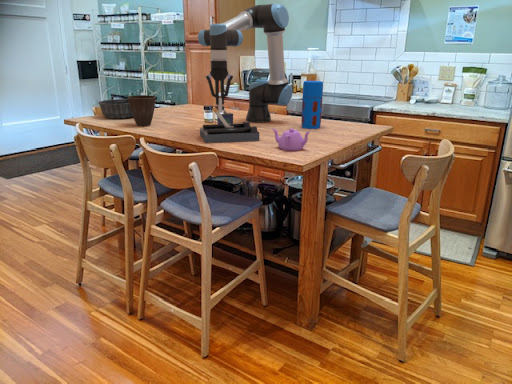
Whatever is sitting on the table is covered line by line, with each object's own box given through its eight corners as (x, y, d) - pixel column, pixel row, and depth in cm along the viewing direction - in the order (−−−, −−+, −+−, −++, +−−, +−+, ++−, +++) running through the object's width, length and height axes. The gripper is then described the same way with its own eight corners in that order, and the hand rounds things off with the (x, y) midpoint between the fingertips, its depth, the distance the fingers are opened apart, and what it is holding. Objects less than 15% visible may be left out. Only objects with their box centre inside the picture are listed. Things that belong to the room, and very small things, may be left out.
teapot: (310, 150, 181) (311, 130, 178) (280, 152, 176) (281, 132, 174) (299, 144, 191) (299, 125, 188) (271, 146, 187) (271, 127, 184)
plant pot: (151, 122, 243) (149, 94, 238) (161, 126, 232) (159, 97, 226) (126, 124, 235) (123, 96, 230) (135, 128, 223) (133, 98, 218)
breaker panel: (250, 133, 215) (250, 121, 212) (259, 140, 198) (259, 127, 196) (200, 135, 208) (199, 123, 206) (205, 143, 192) (205, 129, 190)
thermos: (322, 126, 236) (325, 81, 227) (317, 129, 226) (320, 82, 218) (304, 124, 240) (306, 80, 232) (298, 127, 231) (300, 81, 222)
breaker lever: (230, 127, 204) (214, 106, 199) (232, 129, 200) (216, 108, 194) (227, 129, 204) (211, 109, 199) (229, 131, 200) (213, 110, 194)
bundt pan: (90, 118, 254) (88, 102, 251) (119, 112, 277) (117, 97, 274) (125, 121, 245) (123, 104, 241) (152, 115, 268) (150, 99, 264)
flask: (218, 131, 219) (218, 111, 215) (216, 130, 221) (215, 110, 217) (234, 130, 223) (233, 110, 219) (231, 129, 225) (231, 109, 222)
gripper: (231, 59, 195) (231, 110, 203) (203, 59, 192) (205, 111, 200) (234, 60, 188) (235, 112, 196) (206, 60, 185) (207, 113, 193)
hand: (220, 111), depth 198 cm, fingers closed
